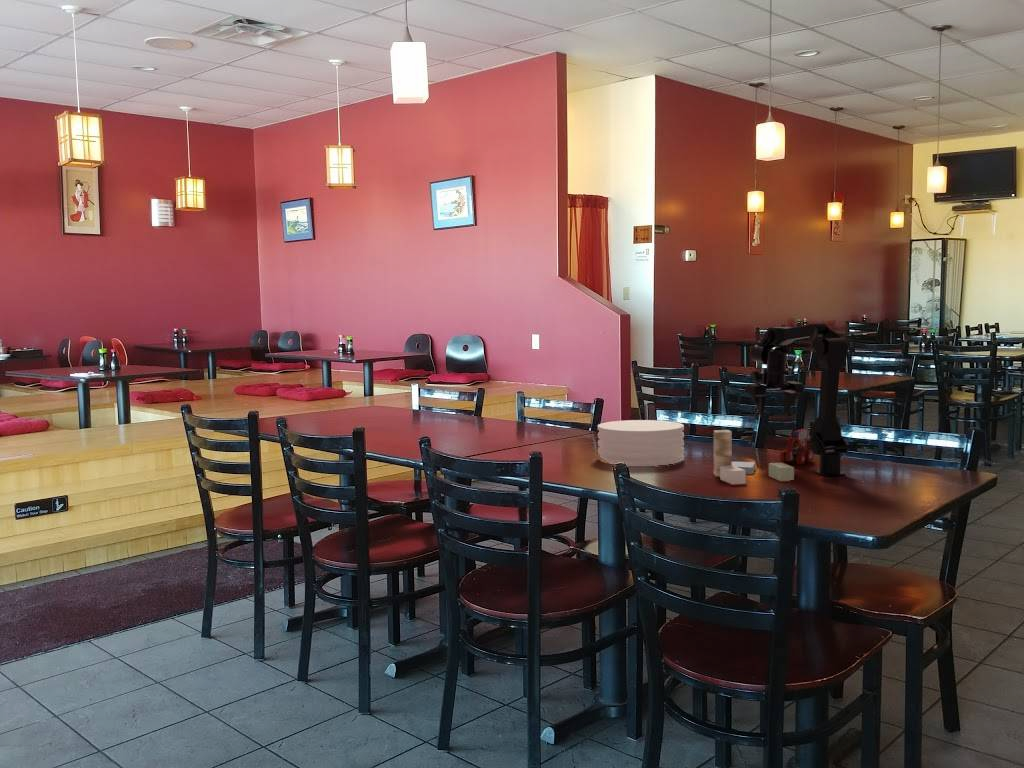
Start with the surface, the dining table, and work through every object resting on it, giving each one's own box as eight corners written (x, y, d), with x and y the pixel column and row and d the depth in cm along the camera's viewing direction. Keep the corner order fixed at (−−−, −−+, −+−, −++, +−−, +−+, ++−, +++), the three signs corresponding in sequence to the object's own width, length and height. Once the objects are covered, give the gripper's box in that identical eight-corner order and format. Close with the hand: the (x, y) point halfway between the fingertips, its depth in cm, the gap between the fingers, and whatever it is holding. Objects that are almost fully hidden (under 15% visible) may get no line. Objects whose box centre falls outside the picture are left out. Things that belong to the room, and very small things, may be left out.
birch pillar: (729, 473, 262) (729, 430, 261) (731, 476, 258) (731, 432, 257) (713, 473, 262) (713, 430, 261) (715, 476, 258) (715, 432, 257)
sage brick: (793, 481, 250) (794, 467, 249) (780, 481, 249) (780, 467, 249) (781, 476, 257) (781, 462, 257) (768, 476, 257) (768, 463, 257)
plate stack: (614, 451, 309) (613, 418, 308) (693, 455, 297) (693, 421, 296) (585, 464, 284) (585, 429, 283) (671, 469, 272) (670, 432, 271)
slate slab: (754, 470, 269) (754, 462, 269) (752, 475, 260) (752, 467, 260) (724, 469, 272) (724, 461, 272) (721, 474, 263) (721, 466, 263)
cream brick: (745, 484, 246) (745, 470, 246) (732, 485, 246) (732, 471, 245) (733, 479, 254) (733, 465, 254) (720, 479, 254) (720, 466, 253)
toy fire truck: (776, 464, 276) (776, 431, 275) (795, 459, 285) (795, 427, 284) (797, 466, 271) (798, 433, 270) (815, 461, 280) (815, 428, 279)
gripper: (785, 361, 290) (781, 407, 292) (736, 363, 283) (733, 411, 286) (807, 366, 279) (803, 414, 282) (757, 369, 273) (753, 418, 276)
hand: (773, 414), depth 282 cm, fingers open, 9 cm apart
